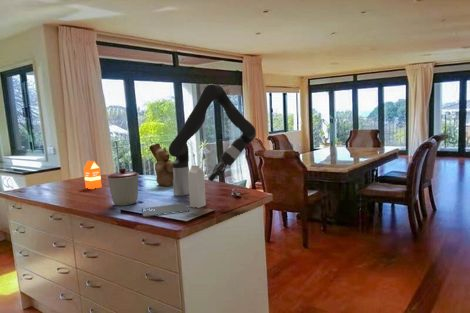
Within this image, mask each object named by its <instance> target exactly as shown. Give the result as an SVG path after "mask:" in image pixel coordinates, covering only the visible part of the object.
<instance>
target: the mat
mask: <svg viewBox="0 0 470 313" xmlns="http://www.w3.org/2000/svg"><path fill="white" fill-rule="evenodd" d="M144 208H145V209H146V211H144V212H142V211H141V212H142V217H143V218H149V217H155V216H154V215H157V216H159V215H158V214H164V213H172V212H180V211H187V210H190V208H189V206H187V205H186V203H185V202H182V203H175V204H174V203H173V204H165V205H160V206H158V205H157V206H150V207H144ZM149 208H150V210H151V209H153V210H154V209H155V211H153V210H152V211H149V210H147V209H149ZM187 212H188V211H187ZM180 213H181V212H180ZM172 214H173V213H172Z"/></svg>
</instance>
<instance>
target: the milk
mask: <svg viewBox="0 0 470 313" xmlns="http://www.w3.org/2000/svg"><path fill="white" fill-rule="evenodd" d="M188 181H189V194H188V195H189V205H190V208H195V207H197V208H196V209H200V208H203V207H205V206H206V205H207V202H206V190H205V189H206V187H205V174H204V170H203V169H201V167H200V165H191V167H190V169H188Z"/></svg>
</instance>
